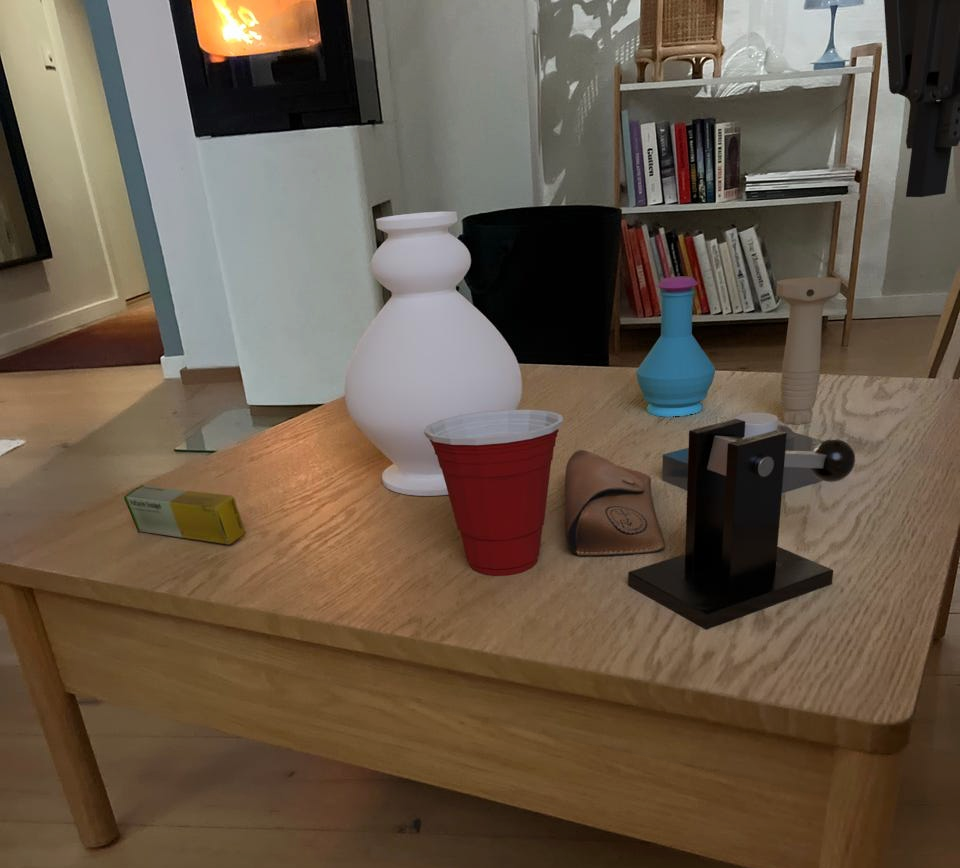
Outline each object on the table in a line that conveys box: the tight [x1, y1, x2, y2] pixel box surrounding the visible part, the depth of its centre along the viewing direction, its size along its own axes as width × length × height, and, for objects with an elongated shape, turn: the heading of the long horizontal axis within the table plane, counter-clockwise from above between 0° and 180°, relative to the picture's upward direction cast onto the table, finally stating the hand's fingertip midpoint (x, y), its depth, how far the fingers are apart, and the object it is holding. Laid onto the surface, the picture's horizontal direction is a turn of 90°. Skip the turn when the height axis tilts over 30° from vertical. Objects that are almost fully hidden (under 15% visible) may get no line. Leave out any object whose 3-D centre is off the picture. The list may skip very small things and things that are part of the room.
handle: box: [775, 276, 842, 426], centre depth 102 cm, size 5×6×15 cm
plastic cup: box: [424, 409, 564, 577], centre depth 75 cm, size 11×11×12 cm
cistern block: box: [661, 423, 824, 494], centre depth 90 cm, size 14×10×4 cm
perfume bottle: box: [636, 275, 716, 418], centre depth 110 cm, size 9×9×15 cm
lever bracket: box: [627, 418, 834, 630], centre depth 68 cm, size 12×9×12 cm
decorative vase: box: [343, 211, 523, 497], centre depth 92 cm, size 18×18×25 cm
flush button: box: [733, 412, 779, 438], centre depth 88 cm, size 4×4×2 cm
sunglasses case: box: [564, 449, 666, 557], centre depth 84 cm, size 18×7×7 cm, turn 176°
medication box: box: [123, 484, 246, 545], centre depth 87 cm, size 12×3×4 cm, turn 62°
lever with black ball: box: [707, 436, 856, 483], centre depth 68 cm, size 13×3×3 cm, turn 119°
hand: (925, 194), depth 74 cm, fingers closed
